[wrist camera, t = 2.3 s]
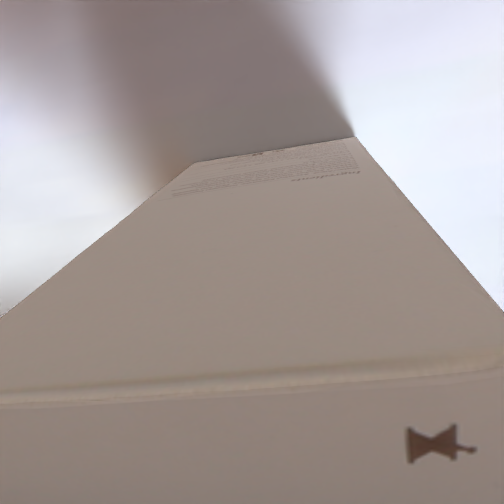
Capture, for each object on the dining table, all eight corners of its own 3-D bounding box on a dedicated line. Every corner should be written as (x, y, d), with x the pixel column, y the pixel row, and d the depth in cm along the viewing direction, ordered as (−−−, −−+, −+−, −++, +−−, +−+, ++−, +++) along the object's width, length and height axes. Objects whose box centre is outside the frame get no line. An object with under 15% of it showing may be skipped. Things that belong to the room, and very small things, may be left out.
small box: (190, 161, 16) (-141, 398, 4) (358, 133, 15) (579, 345, 3) (231, 337, 19) (107, 779, 7) (375, 325, 18) (518, 823, 6)
